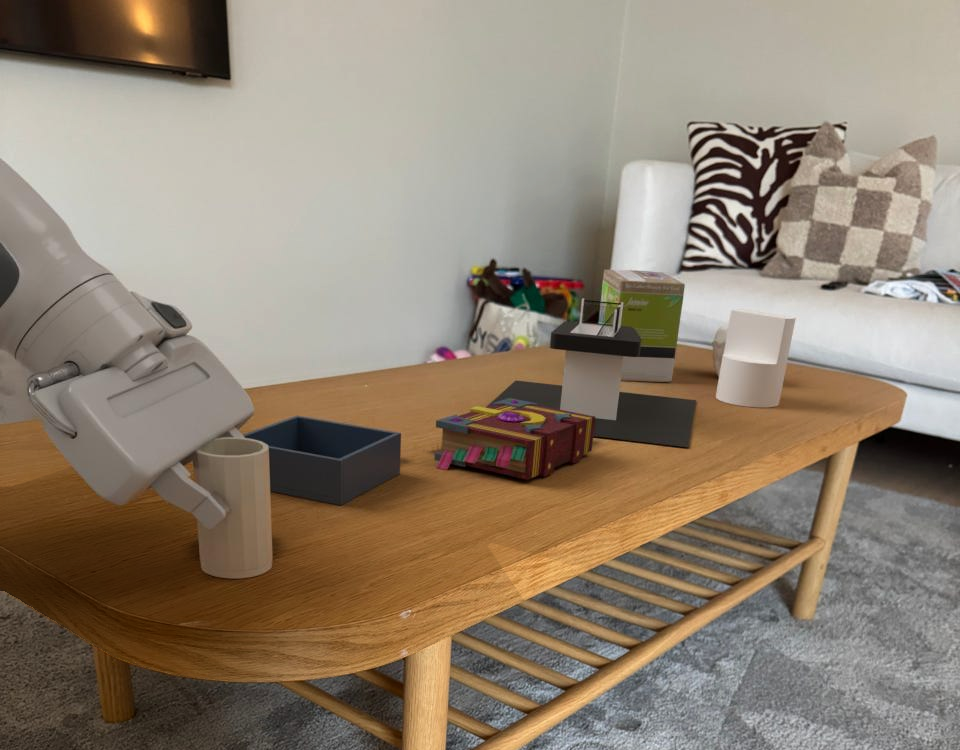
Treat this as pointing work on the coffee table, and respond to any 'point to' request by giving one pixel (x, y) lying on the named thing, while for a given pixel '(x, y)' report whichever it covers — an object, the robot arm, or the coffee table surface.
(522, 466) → the decorative book
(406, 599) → the coffee table surface
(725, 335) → the penguin figurine
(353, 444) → the slate bin
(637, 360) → the tea box
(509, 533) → the coffee table surface
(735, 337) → the base with upright slab
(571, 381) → the black-topped pedestal
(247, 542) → the cream cup
